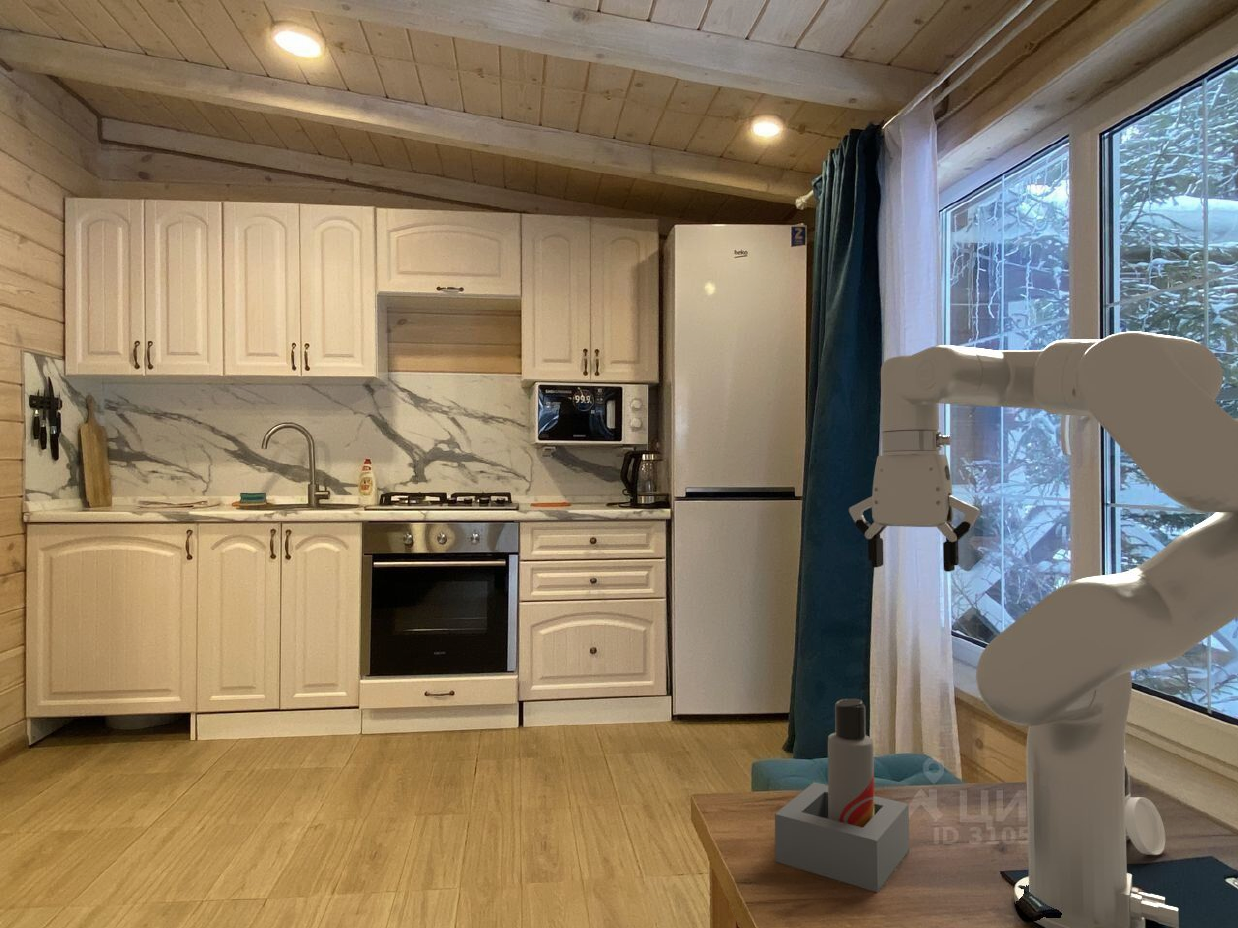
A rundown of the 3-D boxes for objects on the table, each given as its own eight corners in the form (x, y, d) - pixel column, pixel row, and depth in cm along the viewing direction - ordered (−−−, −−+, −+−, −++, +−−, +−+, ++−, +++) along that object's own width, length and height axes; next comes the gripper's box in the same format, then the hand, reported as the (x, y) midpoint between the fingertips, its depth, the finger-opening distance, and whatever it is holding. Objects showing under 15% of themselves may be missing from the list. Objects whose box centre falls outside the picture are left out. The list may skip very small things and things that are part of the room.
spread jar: (1066, 813, 113) (1064, 732, 113) (1161, 830, 107) (1158, 745, 107) (1065, 846, 103) (1062, 757, 103) (1169, 867, 97) (1167, 773, 97)
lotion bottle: (879, 867, 97) (878, 706, 98) (833, 866, 98) (832, 705, 98) (868, 846, 103) (866, 694, 103) (825, 845, 103) (823, 693, 104)
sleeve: (909, 849, 102) (908, 803, 102) (877, 892, 91) (876, 840, 91) (814, 824, 109) (814, 781, 110) (775, 861, 99) (774, 813, 99)
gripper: (983, 444, 106) (985, 569, 105) (858, 448, 116) (859, 563, 116) (971, 441, 100) (973, 575, 99) (840, 446, 110) (841, 567, 110)
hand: (912, 568), depth 108 cm, fingers open, 9 cm apart
